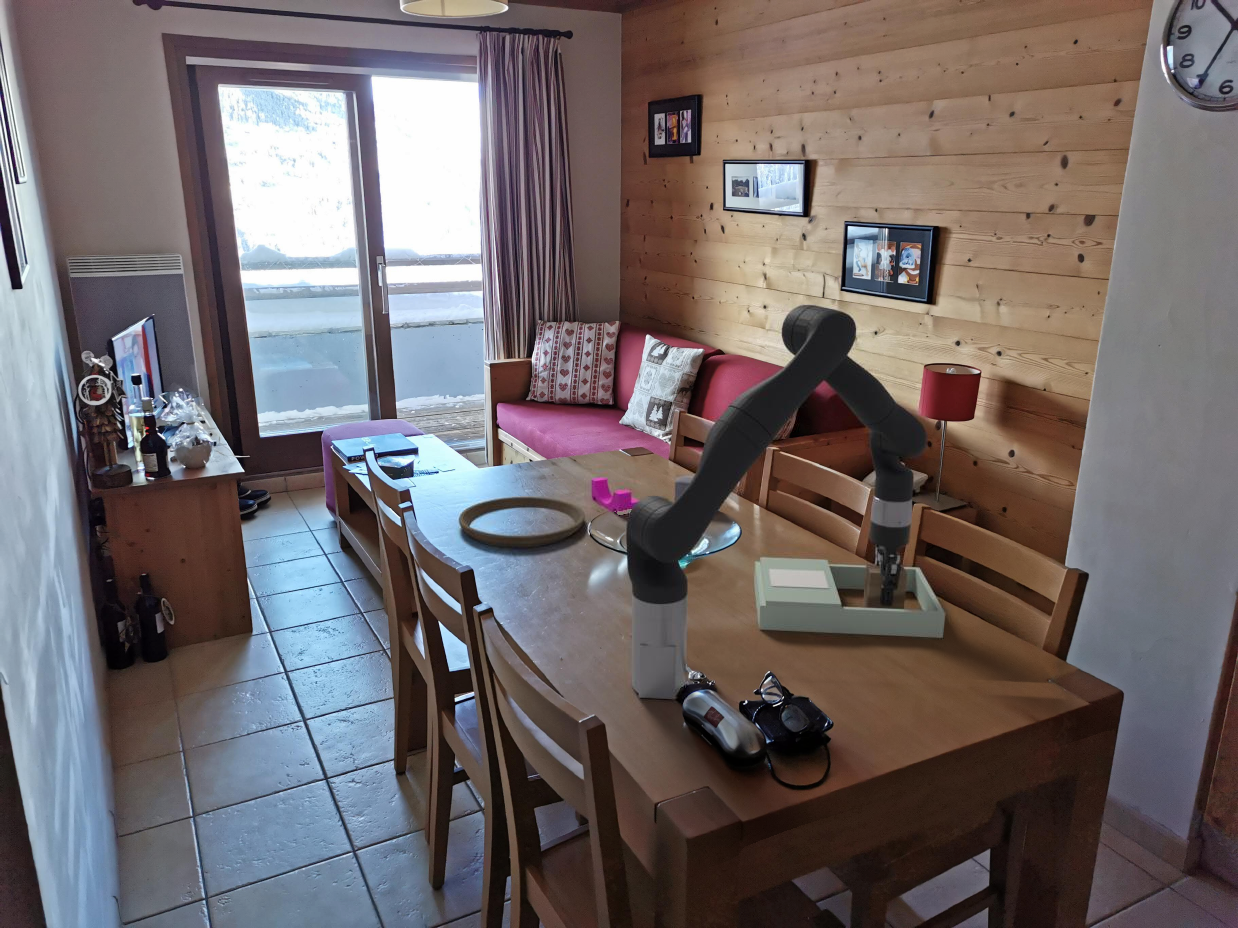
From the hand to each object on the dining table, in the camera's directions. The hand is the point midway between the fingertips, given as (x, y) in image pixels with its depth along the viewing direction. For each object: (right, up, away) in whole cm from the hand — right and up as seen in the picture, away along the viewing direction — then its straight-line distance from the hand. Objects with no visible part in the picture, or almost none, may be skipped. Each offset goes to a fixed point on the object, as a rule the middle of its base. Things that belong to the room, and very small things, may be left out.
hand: (883, 599), depth 178 cm
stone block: (-32, +13, +56) cm, 66 cm away
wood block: (0, -2, +1) cm, 2 cm away
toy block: (-54, +14, +59) cm, 81 cm away
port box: (-8, -2, +1) cm, 8 cm away
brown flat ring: (-77, +10, +45) cm, 90 cm away
